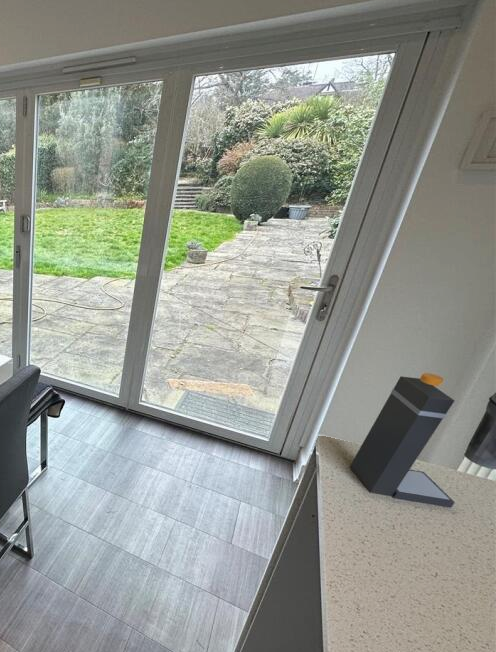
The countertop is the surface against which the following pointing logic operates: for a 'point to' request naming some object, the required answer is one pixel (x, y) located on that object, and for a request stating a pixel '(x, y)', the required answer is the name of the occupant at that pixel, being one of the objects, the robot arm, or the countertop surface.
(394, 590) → the countertop surface
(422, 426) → the espresso machine
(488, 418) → the beverage cup
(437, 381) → the brew button
